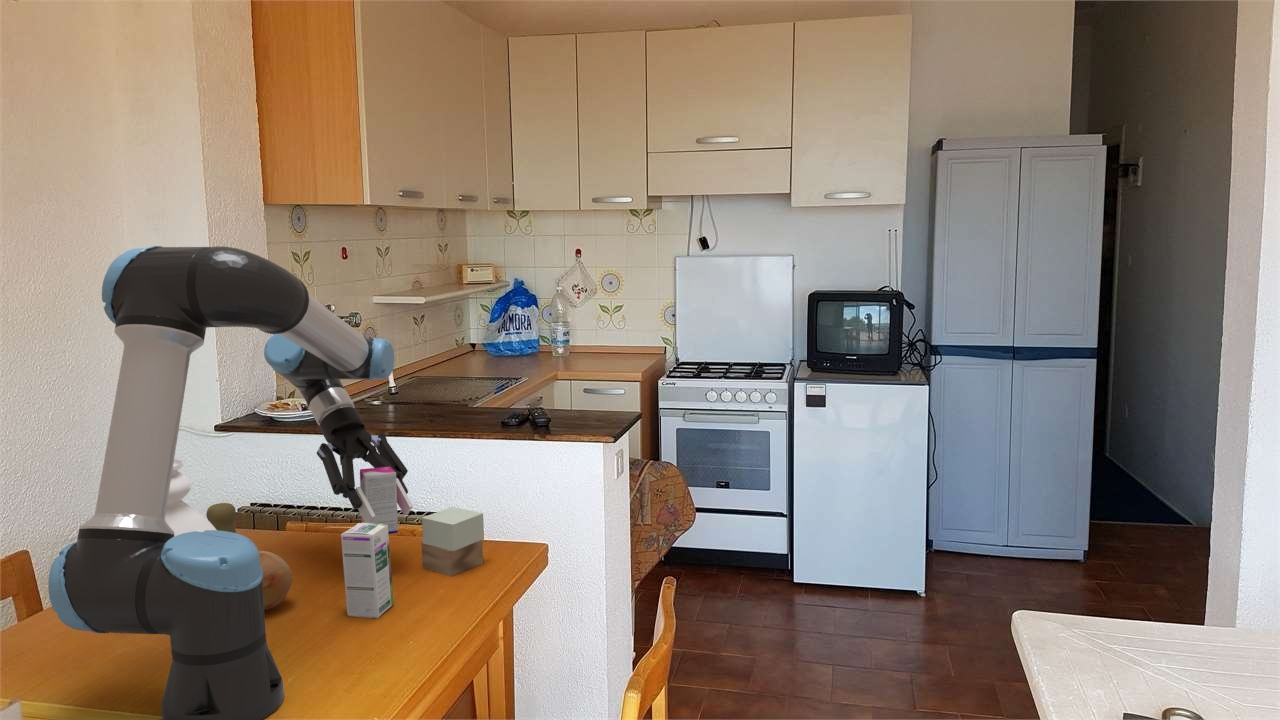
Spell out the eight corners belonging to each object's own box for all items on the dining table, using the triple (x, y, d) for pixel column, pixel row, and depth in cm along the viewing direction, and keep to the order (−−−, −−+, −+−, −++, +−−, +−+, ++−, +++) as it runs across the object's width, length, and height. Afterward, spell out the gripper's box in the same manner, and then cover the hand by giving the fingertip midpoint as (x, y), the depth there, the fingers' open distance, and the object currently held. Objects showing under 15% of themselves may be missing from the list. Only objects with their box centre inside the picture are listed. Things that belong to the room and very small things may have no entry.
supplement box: (399, 533, 176) (396, 471, 174) (366, 537, 173) (363, 475, 172) (393, 524, 181) (390, 465, 180) (360, 529, 179) (357, 468, 177)
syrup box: (378, 619, 158) (373, 534, 156) (345, 616, 159) (340, 532, 157) (394, 605, 164) (389, 523, 162) (362, 603, 165) (357, 521, 163)
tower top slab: (454, 551, 176) (452, 524, 175) (423, 543, 180) (421, 517, 180) (484, 538, 183) (483, 513, 182) (453, 531, 187) (452, 506, 186)
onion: (306, 604, 165) (303, 547, 163) (256, 624, 156) (252, 565, 155) (270, 593, 170) (266, 538, 168) (219, 612, 162) (215, 555, 160)
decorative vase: (229, 581, 176) (219, 447, 172) (224, 618, 159) (212, 471, 155) (120, 595, 170) (107, 457, 166) (102, 635, 153) (87, 483, 149)
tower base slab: (450, 577, 177) (449, 551, 176) (422, 567, 182) (421, 542, 181) (483, 564, 183) (482, 539, 182) (455, 556, 188) (454, 531, 187)
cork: (207, 556, 189) (203, 502, 187) (240, 552, 191) (236, 498, 190) (208, 566, 183) (203, 510, 182) (242, 561, 186) (238, 506, 184)
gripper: (376, 421, 193) (428, 514, 184) (281, 437, 178) (333, 540, 169) (390, 397, 188) (444, 492, 180) (294, 412, 173) (348, 516, 165)
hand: (390, 515), depth 174 cm, fingers closed on supplement box, 7 cm apart
